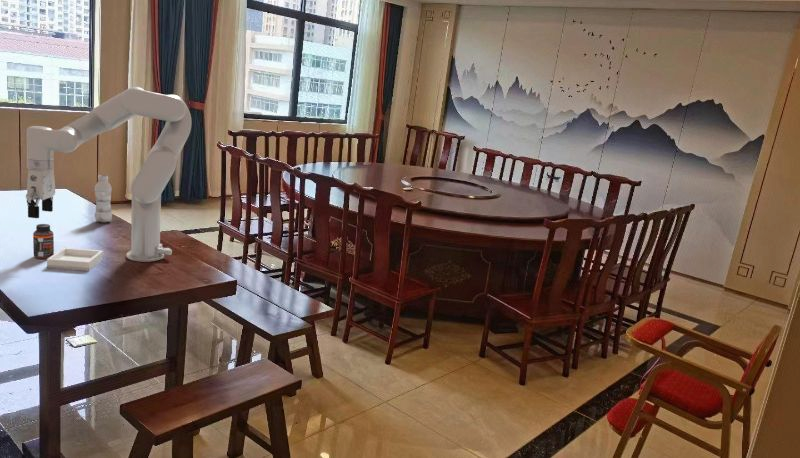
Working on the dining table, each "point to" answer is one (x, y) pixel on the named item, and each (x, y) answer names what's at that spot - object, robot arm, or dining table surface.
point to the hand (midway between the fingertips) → (40, 214)
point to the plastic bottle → (103, 199)
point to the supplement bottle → (43, 242)
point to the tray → (75, 259)
